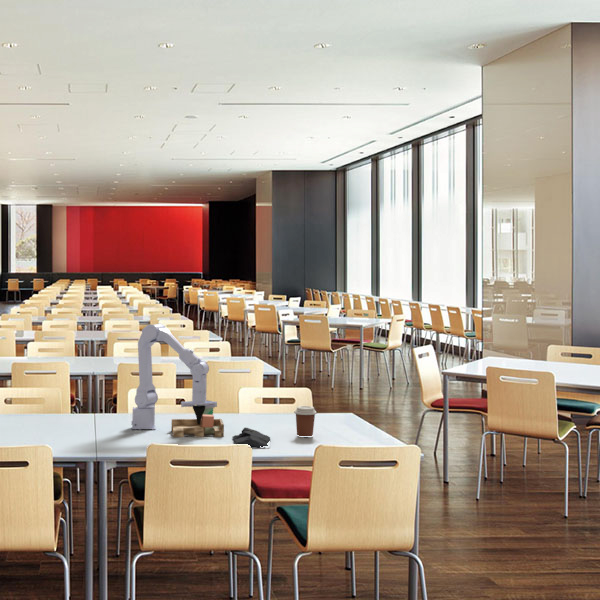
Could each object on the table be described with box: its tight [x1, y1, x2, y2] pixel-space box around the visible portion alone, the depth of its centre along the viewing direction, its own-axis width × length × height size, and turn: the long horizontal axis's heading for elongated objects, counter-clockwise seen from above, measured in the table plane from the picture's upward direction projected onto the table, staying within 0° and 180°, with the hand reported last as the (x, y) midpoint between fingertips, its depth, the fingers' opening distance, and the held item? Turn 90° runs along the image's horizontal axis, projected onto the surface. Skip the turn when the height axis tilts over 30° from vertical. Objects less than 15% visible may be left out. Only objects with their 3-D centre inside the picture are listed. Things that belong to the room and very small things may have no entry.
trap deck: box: [170, 418, 225, 438], centre depth 341 cm, size 20×13×5 cm, turn 100°
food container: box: [201, 399, 215, 419], centre depth 361 cm, size 12×6×10 cm, turn 168°
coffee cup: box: [293, 405, 317, 436], centre depth 341 cm, size 9×9×12 cm
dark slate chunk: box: [231, 427, 271, 448], centre depth 326 cm, size 15×22×5 cm
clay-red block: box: [202, 414, 215, 427], centre depth 344 cm, size 4×4×4 cm
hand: (198, 424), depth 344 cm, fingers closed
